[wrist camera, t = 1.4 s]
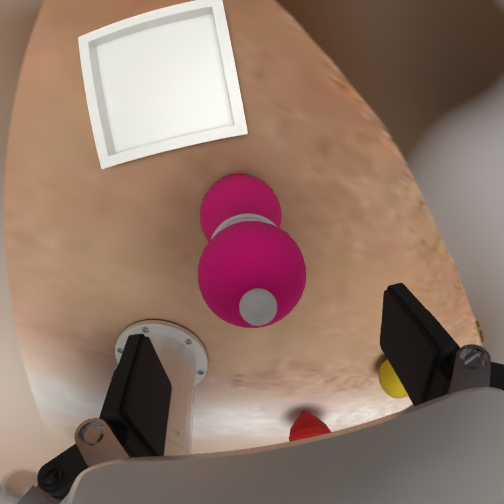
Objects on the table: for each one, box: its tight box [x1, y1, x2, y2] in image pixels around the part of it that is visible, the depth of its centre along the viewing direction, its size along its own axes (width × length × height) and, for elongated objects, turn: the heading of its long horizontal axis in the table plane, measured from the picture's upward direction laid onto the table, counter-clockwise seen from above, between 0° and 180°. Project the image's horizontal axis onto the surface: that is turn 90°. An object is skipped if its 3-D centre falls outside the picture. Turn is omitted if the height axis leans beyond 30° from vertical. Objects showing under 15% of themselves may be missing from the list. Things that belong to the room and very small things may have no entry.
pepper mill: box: [198, 174, 306, 328], centre depth 23 cm, size 7×7×20 cm
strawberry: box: [289, 412, 331, 442], centre depth 42 cm, size 6×8×10 cm
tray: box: [78, 0, 248, 169], centre depth 25 cm, size 14×14×3 cm
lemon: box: [379, 359, 408, 398], centre depth 40 cm, size 6×6×8 cm
